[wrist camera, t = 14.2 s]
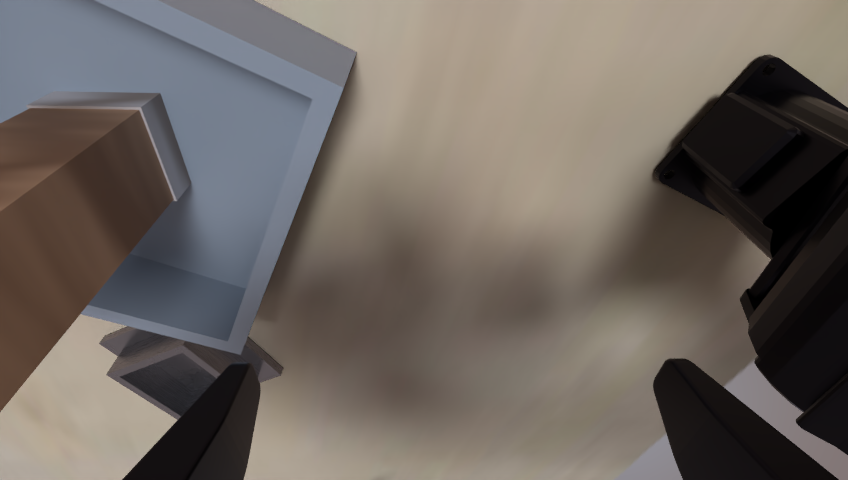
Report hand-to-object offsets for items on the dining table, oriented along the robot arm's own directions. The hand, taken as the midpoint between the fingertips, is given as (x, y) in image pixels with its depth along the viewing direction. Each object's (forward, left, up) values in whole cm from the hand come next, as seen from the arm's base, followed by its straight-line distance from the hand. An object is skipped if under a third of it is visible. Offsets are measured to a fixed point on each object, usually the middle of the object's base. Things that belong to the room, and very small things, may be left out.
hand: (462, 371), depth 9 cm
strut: (+12, +6, -12) cm, 18 cm away
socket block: (+7, +21, -13) cm, 26 cm away
